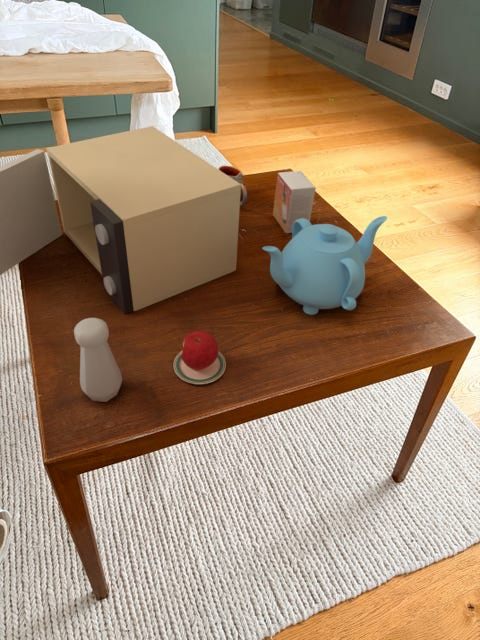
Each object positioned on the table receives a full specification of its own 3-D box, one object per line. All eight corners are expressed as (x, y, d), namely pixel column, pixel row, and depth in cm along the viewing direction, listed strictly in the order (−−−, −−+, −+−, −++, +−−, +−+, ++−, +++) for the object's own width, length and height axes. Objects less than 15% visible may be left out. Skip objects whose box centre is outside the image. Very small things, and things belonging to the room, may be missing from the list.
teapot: (370, 278, 96) (388, 214, 87) (345, 341, 82) (363, 273, 73) (291, 256, 100) (300, 193, 91) (255, 312, 87) (261, 244, 77)
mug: (208, 192, 119) (209, 166, 114) (234, 188, 121) (236, 162, 117) (229, 216, 111) (230, 189, 106) (256, 211, 113) (258, 184, 109)
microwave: (121, 316, 84) (107, 224, 72) (53, 236, 101) (33, 150, 89) (236, 270, 96) (241, 184, 84) (157, 205, 113) (152, 125, 101)
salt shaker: (80, 381, 73) (64, 315, 64) (119, 372, 75) (108, 306, 66) (85, 411, 69) (69, 345, 60) (127, 401, 71) (116, 335, 62)
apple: (191, 394, 72) (190, 363, 68) (164, 361, 77) (161, 330, 73) (235, 372, 76) (237, 341, 72) (207, 341, 81) (207, 311, 76)
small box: (272, 215, 112) (276, 171, 105) (295, 213, 114) (301, 169, 107) (285, 234, 106) (290, 189, 99) (308, 231, 108) (316, 186, 101)
